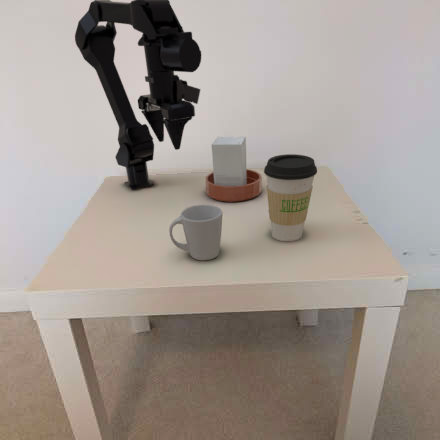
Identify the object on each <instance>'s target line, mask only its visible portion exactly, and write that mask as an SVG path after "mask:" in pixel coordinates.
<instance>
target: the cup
mask: <svg viewBox="0 0 440 440" xmlns="http://www.w3.org/2000/svg"><path fill="white" fill-rule="evenodd" d="M176 225H182V229H183V233H184V237H185V241H186V243H182V242H178V241H177V240H176V239H175V238H174V236H173V228H174V227H175V226H176ZM222 226H223V210H222V208H221V207H219V206H218V205H217V206H216V205H214V204H196V205H191V206H188V207H186V208H184V209H183V210H182V211H181V212H180V215H179V216H178V217H177V218H175V219H174V220H172V221H171V223H170V224H169V230H168V232H169V238H170V240H171V242H172V243H173V245H174V246H176V248H178V249H179V250H182V251H184V252H188V253H189V255H190V257H191V258H193V259H195V260H197V261H209V260H213V259H215V258H217V257H218V256H219V255H220V251H221V241H222V230H223V229H222V228H223V227H222Z"/></svg>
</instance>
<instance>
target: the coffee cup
mask: <svg viewBox="0 0 440 440" xmlns="http://www.w3.org/2000/svg"><path fill="white" fill-rule="evenodd" d="M263 173H264V175H266V176H265V177H266V195H267V205H268V215H269V220H270V230H271V236H272V238H273V239H275V240H278V241H280V242H295V241H298V240H299V239H301V238H302V236H303V231H304V227H305V222H306V221H307V216H308V212H309V206H310V201H311V196H312V192H313V183H314V177H315V176H316V174H317V173H318V167H317V165H316V163H315V160H314V158H312V157H311V156H308V155H303V154H295V153H294V154H293V153H292V154H291V153H289V154H279V155H275V156H272V157H269V158H268V160H267V162H266V164H265V166H264V170H263Z"/></svg>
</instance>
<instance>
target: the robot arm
mask: <svg viewBox="0 0 440 440" xmlns="http://www.w3.org/2000/svg"><path fill="white" fill-rule="evenodd" d="M99 23H106V24H105V25H103V24H99ZM116 24H124V25H129V26H132V28H133V29H134V30H135V31H137V32H140V33H142V35H141V37H140V38H139V40H138V41H137V45H138V47H143V49H144V58H145V66H146V73H147V75H145V76H144V80H145V81H144V82H147V83H148V87H149V88H148V89H149V94H142V95H140V96H139V97H138V99H137V106H138V110H141V114H142V115H143V116H144V118H145V120H146V121H147V123H148V124H146V123H144V124H143V123H141V122H140V121H139V120H138V119H137V117H136V114H135V111H134V109H133V107H132V104H131V102H130V100H129V99H130V98H129V97H128V93H127V92H126V89H125V87H124V84H123V81H122V79H121V77H120V74H119V71H118V68H117V67H116V64H115V54H116V47H115V46H116V45H115V43H114V42H115V39H116V36H117V33H118V32H117V28H116ZM74 42H75V45H76V47H77V48H78V50H79V52H80V54H81V55H82V58H83V59H84V61H85V62H87V64H89V65H90V66H91V67H92V68H93V69H94V70H95V72H96V74H97V77H98V79H99V81H100V84H101V86H102V90H103V91H104V93H105V96H106V99H107V101H108V104H109V106H110V108H111V111H112V113H113V116H114V119H115V121H116V123H117V126H118V133H117V142H118V146H119V147H118V150H117V153H116V155H115V157H114V158H115V160H116V164H117V165H118V166H121V167H124V168H125V171H126V172H125V173H126V176H127V177H126V178H127V181H125V182H124V184H125V186H126V187H128V189H130V190H132V191H135V190H138V189H144V188H147V187H152V186H154V185H155V183H154V182H153V181H151V180H150V179H149V178H150V177H149V169H148V164H147V162H150V161H151V162H152V161H154V155H155V154H154V153H155V143H154V138H153V136H152V134H151V132H150V128H151V130H152V131H153V133H154V135H155V137H156V138H157V140H158V142H159V143H162V142H164V141H165V129H166V132H167V134H168V137H169V139H170V142H171V144H172V146H173V148H174V150H175V151H178V150H180V149H181V145H182V141H183V140H182V139H183V135H184V129H185V127H186V125H187V123H188V122H189V121H191V120H192V119H193V117H195V116H196V109H195V105H193V104H196V105H198V104H199V99H200V94H201V88H198V87H194V86H192V85H189V84H188V81H187V80H183V79H182V78H181V79H180V76H179V75H178V74H175V72H180V73H194V72H196V71H197V70H198V69H199V67H200V65H201V63H202V51H201V49H200V46H199V44H198V42H197V41H196V40H195V39H193V32H192V31H184V28H183V26H182V25H181V23H180V21H179V18H178V16H177V15H176V13H175V11H174V8H173V7H172V5H171V2H170V0H131V1H130V2H126V1H125V2H124V1H112V0H93V1H91V2H90V3H89V7H88V10H87V12H86V13H85V14H83V16H82V17H81V18H80V20H78V23H77V26H76V30H75V32H74ZM148 125H149V126H150V128H149V126H148Z"/></svg>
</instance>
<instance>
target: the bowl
mask: <svg viewBox="0 0 440 440" xmlns="http://www.w3.org/2000/svg"><path fill="white" fill-rule="evenodd" d="M246 175H247V185H242V186H220V185H215V184H214V172H213V171H212V172H210V173H208V174H207V175H206V176H205V181H204V182H205V194H206V195H207V196H208V197H209V198H211V199H214V200H216V201H220V202H226V203H238V202H244V201H245V202H246V201H248V200H251V199H252V200H253V199H254V198H255V197H257V196H259V195H260V194H261V193H262V190H263V182H262V181H263V177H262V174H261V173H259V172H258V171H256V170H253V169H247V168H246Z"/></svg>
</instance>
